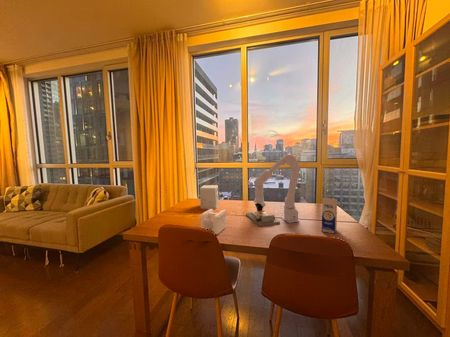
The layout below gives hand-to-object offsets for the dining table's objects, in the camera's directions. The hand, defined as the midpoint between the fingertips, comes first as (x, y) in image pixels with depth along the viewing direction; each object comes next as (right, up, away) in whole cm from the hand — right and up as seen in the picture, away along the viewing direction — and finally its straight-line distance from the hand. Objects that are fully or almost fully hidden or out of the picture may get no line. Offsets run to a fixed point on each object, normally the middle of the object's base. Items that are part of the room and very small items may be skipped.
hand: (259, 213), depth 148 cm
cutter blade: (+2, -1, -6) cm, 6 cm away
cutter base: (+1, -3, -3) cm, 4 cm away
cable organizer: (-31, -6, -21) cm, 37 cm away
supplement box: (-37, -1, +31) cm, 48 cm away
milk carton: (+36, -5, -26) cm, 45 cm away
